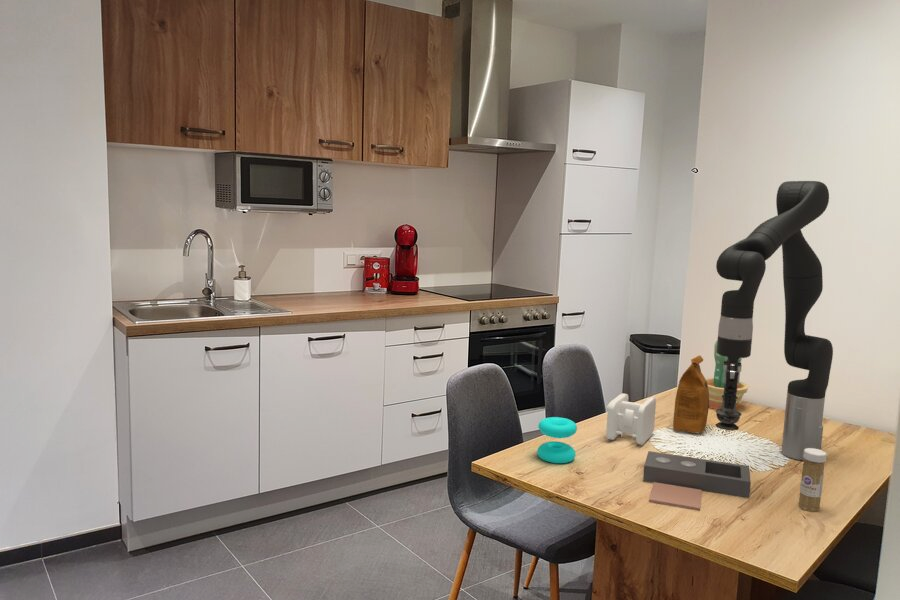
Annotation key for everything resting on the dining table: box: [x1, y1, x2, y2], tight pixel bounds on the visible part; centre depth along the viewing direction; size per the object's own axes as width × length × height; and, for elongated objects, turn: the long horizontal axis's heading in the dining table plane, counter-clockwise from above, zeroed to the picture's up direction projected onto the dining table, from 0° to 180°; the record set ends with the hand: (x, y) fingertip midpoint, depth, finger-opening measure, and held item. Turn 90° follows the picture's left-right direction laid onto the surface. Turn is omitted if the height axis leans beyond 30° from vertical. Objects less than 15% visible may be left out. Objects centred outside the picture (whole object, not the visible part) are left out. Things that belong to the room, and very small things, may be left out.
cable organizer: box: [605, 392, 657, 446], centre depth 205 cm, size 15×11×12 cm
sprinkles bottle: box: [797, 448, 827, 512], centre depth 161 cm, size 5×5×14 cm
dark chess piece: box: [714, 384, 743, 431], centre depth 170 cm, size 6×6×12 cm
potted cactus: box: [705, 340, 750, 410], centre depth 239 cm, size 15×15×25 cm
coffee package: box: [672, 355, 710, 434], centre depth 215 cm, size 10×12×22 cm
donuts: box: [536, 416, 578, 464], centre depth 188 cm, size 10×10×10 cm
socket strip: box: [642, 450, 752, 499], centre depth 175 cm, size 24×11×4 cm, turn 69°
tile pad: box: [648, 482, 702, 512], centre depth 165 cm, size 11×11×1 cm
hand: (728, 405), depth 170 cm, fingers closed on dark chess piece, 3 cm apart
